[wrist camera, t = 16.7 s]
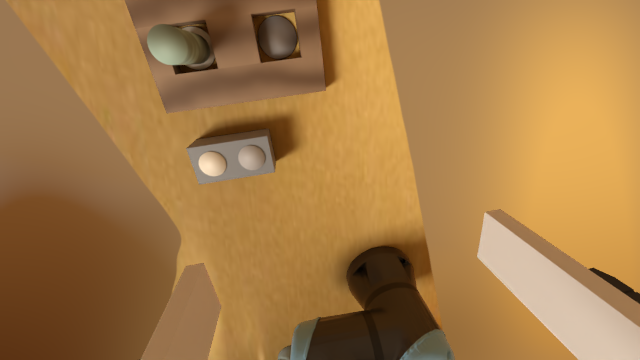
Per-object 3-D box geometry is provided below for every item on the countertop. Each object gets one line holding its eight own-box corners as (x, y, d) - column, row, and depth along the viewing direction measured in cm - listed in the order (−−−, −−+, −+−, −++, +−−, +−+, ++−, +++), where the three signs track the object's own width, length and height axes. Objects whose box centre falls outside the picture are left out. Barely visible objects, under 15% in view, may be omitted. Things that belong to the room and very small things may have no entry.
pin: (213, 62, 38) (191, 62, 29) (186, 65, 38) (155, 67, 29) (205, 31, 37) (179, 21, 28) (176, 34, 36) (140, 26, 27)
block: (275, 161, 46) (274, 172, 41) (207, 172, 45) (198, 185, 41) (268, 128, 44) (266, 136, 39) (196, 139, 43) (185, 148, 38)
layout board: (323, 89, 42) (326, 90, 40) (173, 110, 41) (166, 113, 38) (310, -34, 35) (312, -41, 33) (128, -14, 34) (117, -19, 31)
